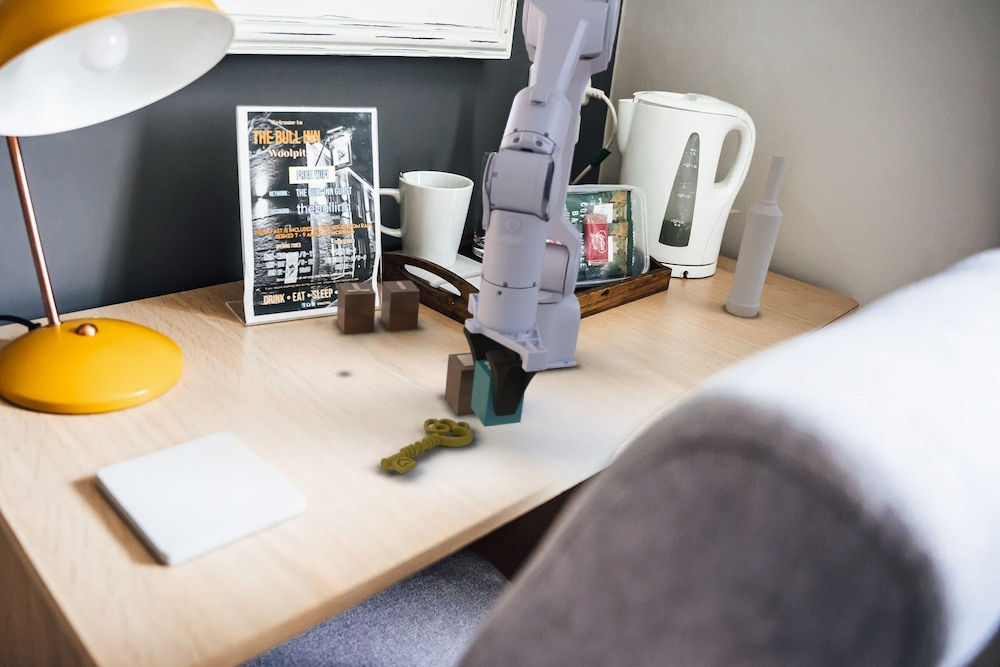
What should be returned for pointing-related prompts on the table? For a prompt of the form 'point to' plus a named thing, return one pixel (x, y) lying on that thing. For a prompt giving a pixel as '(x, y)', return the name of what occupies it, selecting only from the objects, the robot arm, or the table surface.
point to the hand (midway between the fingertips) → (495, 402)
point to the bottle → (757, 246)
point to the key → (430, 443)
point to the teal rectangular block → (488, 398)
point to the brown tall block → (460, 382)
